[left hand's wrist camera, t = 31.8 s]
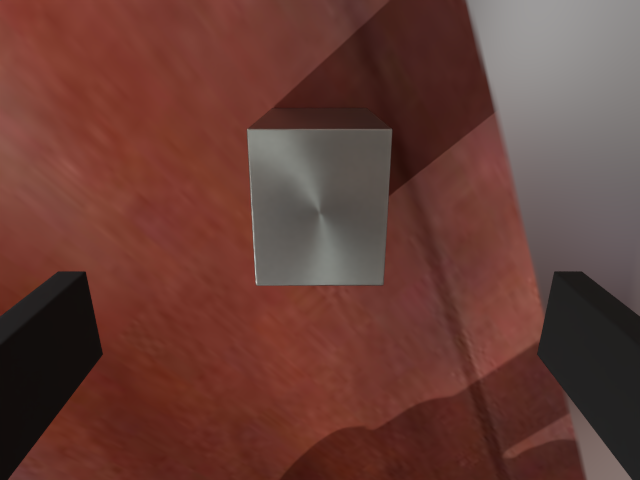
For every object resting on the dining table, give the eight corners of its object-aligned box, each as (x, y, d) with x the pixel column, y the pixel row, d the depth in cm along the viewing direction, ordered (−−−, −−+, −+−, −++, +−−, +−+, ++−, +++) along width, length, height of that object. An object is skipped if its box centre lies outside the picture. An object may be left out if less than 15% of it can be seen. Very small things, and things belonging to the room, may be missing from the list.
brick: (367, 107, 31) (392, 128, 20) (363, 216, 34) (383, 285, 23) (271, 107, 31) (246, 128, 20) (275, 216, 34) (255, 285, 23)
